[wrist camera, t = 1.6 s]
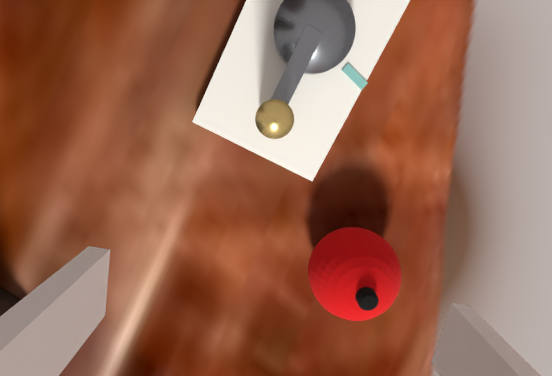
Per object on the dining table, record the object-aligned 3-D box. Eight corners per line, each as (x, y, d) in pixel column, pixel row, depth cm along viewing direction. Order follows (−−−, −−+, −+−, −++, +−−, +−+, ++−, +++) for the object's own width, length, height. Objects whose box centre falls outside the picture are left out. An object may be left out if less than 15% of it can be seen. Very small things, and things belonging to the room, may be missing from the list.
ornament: (392, 223, 38) (436, 264, 28) (371, 295, 40) (405, 356, 30) (313, 208, 37) (330, 244, 27) (295, 282, 39) (305, 340, 29)
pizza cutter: (295, -26, 30) (309, -87, 20) (365, 15, 31) (410, -26, 21) (232, 110, 32) (218, 112, 23) (298, 144, 33) (311, 159, 24)
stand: (196, 120, 35) (188, 122, 31) (287, -83, 31) (289, -109, 27) (311, 177, 36) (316, 186, 33) (411, -8, 32) (429, -23, 29)
